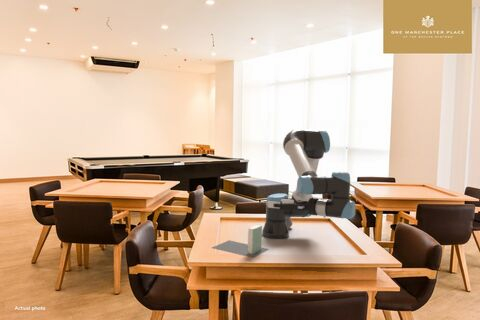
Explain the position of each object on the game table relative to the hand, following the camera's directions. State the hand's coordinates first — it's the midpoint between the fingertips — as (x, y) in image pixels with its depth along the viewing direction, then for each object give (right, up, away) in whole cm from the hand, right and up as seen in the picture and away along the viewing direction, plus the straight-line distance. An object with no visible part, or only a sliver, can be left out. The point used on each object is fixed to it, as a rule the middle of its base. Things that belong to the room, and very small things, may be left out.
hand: (274, 203), depth 174 cm
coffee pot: (+5, -22, +55) cm, 59 cm away
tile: (-9, -24, +5) cm, 26 cm away
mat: (-16, -24, +10) cm, 30 cm away
